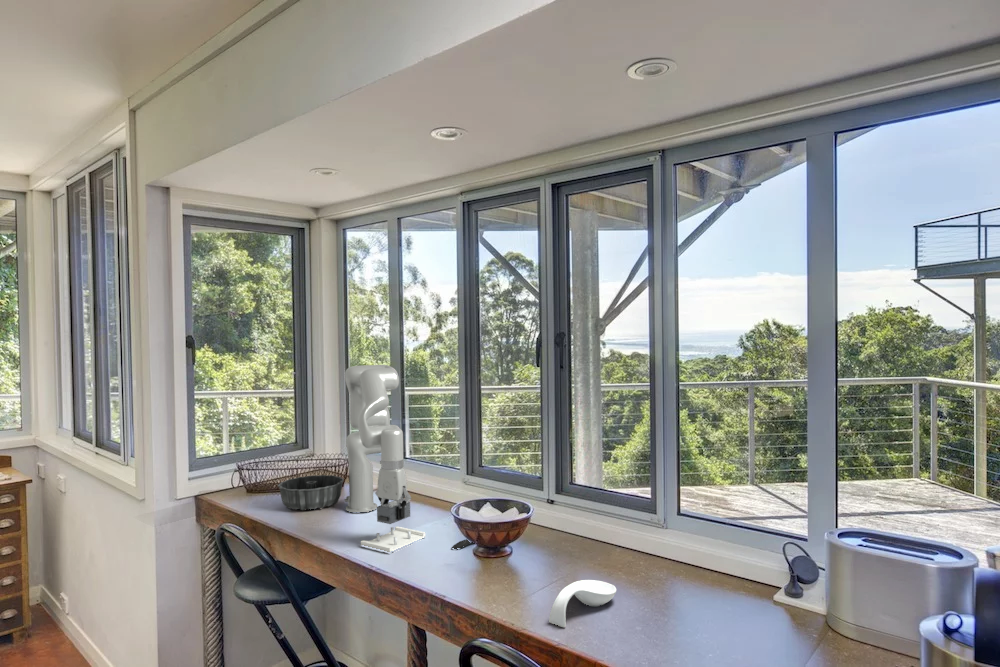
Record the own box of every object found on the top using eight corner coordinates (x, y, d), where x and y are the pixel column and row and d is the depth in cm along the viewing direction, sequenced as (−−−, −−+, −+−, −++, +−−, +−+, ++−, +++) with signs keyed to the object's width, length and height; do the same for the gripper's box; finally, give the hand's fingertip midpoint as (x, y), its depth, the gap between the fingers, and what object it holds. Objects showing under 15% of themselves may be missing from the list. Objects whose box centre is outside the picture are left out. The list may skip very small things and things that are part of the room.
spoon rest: (586, 588, 172) (585, 562, 172) (624, 599, 165) (624, 572, 165) (537, 620, 154) (537, 592, 154) (578, 634, 147) (577, 604, 146)
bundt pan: (279, 500, 267) (279, 477, 267) (342, 494, 275) (341, 472, 275) (277, 517, 242) (276, 492, 242) (346, 510, 250) (345, 486, 250)
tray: (361, 547, 207) (360, 536, 207) (397, 531, 222) (397, 522, 222) (389, 554, 200) (389, 543, 200) (425, 538, 215) (425, 528, 215)
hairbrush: (445, 539, 207) (504, 520, 222) (445, 550, 207) (505, 530, 222) (458, 546, 200) (519, 526, 215) (458, 557, 200) (519, 537, 215)
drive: (375, 522, 208) (375, 506, 208) (397, 513, 217) (397, 499, 217) (389, 524, 205) (388, 509, 205) (410, 516, 214) (410, 501, 214)
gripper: (366, 464, 213) (367, 516, 213) (404, 469, 203) (405, 524, 203) (381, 460, 219) (382, 511, 219) (419, 465, 210) (420, 518, 210)
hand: (393, 517), depth 211 cm, fingers closed on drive, 6 cm apart
